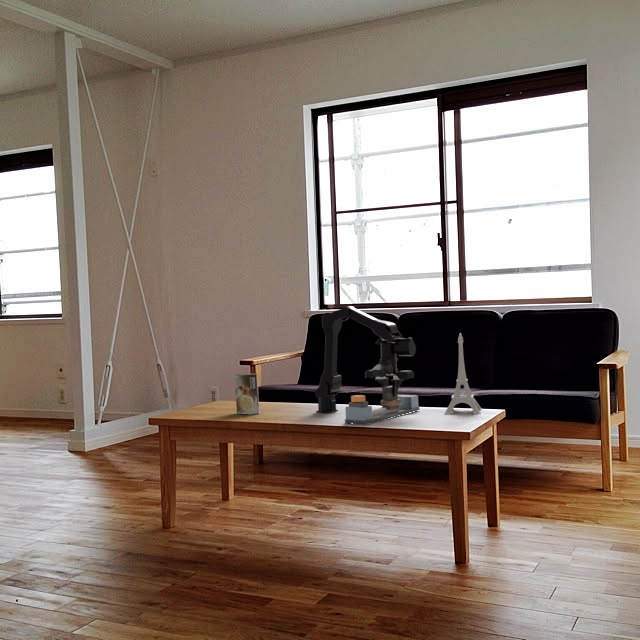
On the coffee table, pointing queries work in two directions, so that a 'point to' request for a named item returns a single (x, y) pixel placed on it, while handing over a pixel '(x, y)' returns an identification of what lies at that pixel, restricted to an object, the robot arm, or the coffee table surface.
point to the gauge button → (358, 398)
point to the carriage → (389, 398)
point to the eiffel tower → (463, 381)
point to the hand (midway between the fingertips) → (390, 397)
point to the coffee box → (247, 393)
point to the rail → (379, 410)
